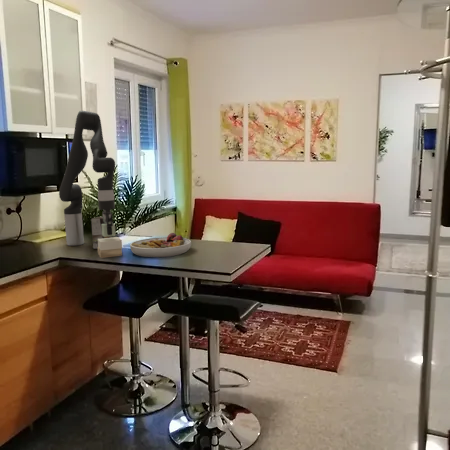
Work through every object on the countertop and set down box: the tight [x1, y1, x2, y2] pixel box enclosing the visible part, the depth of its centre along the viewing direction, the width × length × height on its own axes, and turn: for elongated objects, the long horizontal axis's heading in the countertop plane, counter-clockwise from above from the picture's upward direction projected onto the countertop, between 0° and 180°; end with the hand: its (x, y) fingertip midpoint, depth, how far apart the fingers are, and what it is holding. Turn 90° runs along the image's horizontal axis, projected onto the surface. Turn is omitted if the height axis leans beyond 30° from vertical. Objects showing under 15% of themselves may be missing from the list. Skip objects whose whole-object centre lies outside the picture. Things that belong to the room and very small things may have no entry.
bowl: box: [129, 232, 192, 258], centre depth 231 cm, size 30×30×8 cm
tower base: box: [97, 247, 123, 259], centre depth 227 cm, size 10×10×4 cm
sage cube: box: [101, 223, 117, 237], centre depth 226 cm, size 6×6×6 cm
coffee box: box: [90, 215, 112, 250], centre depth 247 cm, size 9×6×16 cm
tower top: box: [98, 236, 123, 250], centre depth 227 cm, size 10×10×4 cm
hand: (108, 233), depth 227 cm, fingers closed on sage cube, 5 cm apart
